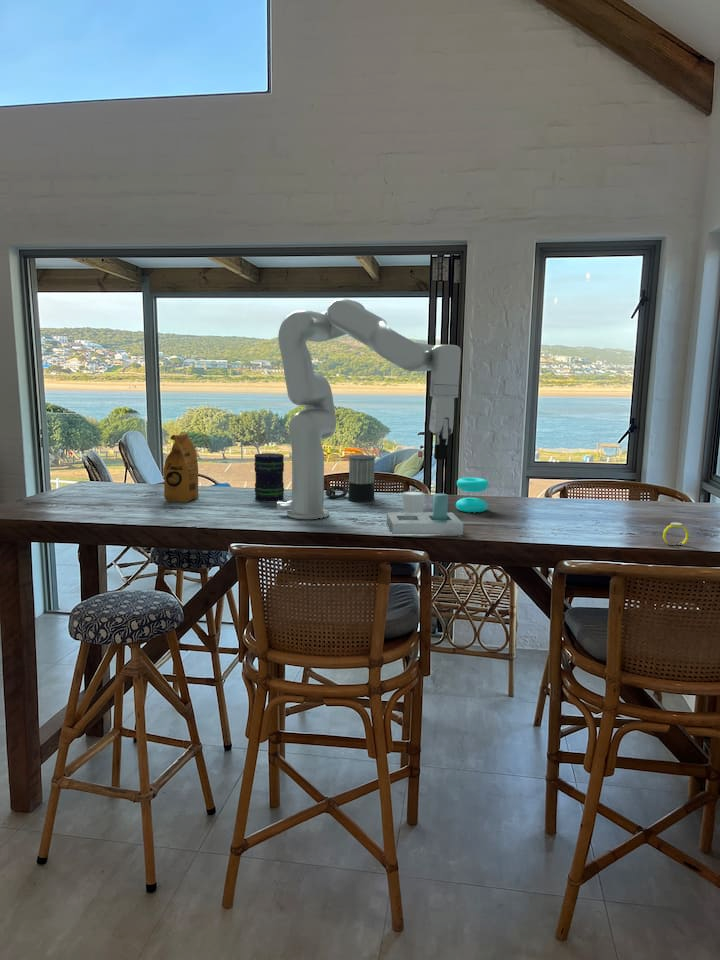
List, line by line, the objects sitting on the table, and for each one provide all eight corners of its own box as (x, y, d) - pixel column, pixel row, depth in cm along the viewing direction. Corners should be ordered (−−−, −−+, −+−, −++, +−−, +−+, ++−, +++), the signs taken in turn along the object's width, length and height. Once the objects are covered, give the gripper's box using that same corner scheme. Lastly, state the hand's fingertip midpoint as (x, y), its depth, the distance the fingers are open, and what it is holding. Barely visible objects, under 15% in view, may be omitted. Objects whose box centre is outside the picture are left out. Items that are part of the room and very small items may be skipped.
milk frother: (378, 502, 225) (378, 458, 222) (331, 503, 221) (332, 459, 219) (367, 494, 238) (368, 453, 236) (323, 495, 235) (324, 453, 232)
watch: (664, 547, 173) (665, 524, 172) (661, 544, 176) (661, 522, 175) (689, 546, 172) (689, 524, 172) (685, 544, 175) (686, 521, 174)
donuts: (454, 476, 218) (485, 477, 218) (453, 506, 219) (483, 507, 219) (459, 481, 208) (491, 482, 208) (458, 513, 209) (490, 513, 209)
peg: (433, 531, 184) (434, 496, 183) (430, 528, 188) (432, 493, 187) (447, 531, 185) (449, 496, 183) (445, 528, 189) (446, 493, 187)
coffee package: (159, 502, 219) (156, 434, 215) (175, 495, 231) (173, 431, 227) (188, 503, 217) (186, 435, 214) (203, 496, 229) (201, 432, 226)
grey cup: (423, 518, 201) (423, 495, 200) (400, 517, 202) (400, 494, 201) (425, 513, 208) (426, 491, 206) (403, 512, 209) (404, 490, 208)
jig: (392, 536, 179) (392, 523, 178) (386, 524, 192) (386, 512, 192) (462, 536, 180) (463, 523, 180) (451, 524, 194) (452, 512, 193)
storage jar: (254, 496, 231) (253, 453, 229) (283, 495, 233) (282, 453, 230) (255, 502, 221) (254, 457, 219) (285, 501, 223) (285, 456, 221)
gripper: (425, 389, 187) (422, 455, 191) (435, 392, 173) (431, 462, 176) (452, 390, 188) (448, 455, 191) (464, 393, 173) (459, 463, 177)
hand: (440, 458), depth 184 cm, fingers closed
